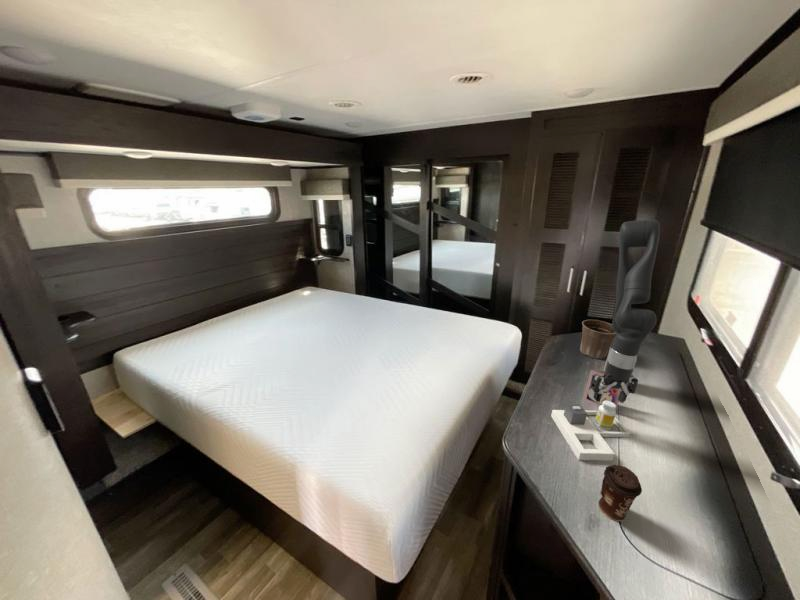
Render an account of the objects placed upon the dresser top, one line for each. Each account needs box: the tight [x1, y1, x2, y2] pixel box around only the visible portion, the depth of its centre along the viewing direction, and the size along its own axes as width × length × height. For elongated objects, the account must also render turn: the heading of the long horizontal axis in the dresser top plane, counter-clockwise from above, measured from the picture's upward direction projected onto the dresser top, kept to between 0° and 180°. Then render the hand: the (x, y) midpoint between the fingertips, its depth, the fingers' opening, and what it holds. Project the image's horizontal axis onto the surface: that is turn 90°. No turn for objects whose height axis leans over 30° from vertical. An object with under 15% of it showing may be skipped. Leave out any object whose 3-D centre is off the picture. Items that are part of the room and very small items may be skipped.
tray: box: [584, 409, 631, 438], centre depth 113 cm, size 12×12×2 cm
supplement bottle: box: [594, 401, 617, 430], centre depth 112 cm, size 5×5×10 cm
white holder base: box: [551, 403, 616, 462], centre depth 107 cm, size 11×20×9 cm, turn 179°
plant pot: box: [579, 319, 618, 360], centre depth 159 cm, size 16×16×16 cm
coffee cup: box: [598, 464, 643, 522], centre depth 82 cm, size 9×8×13 cm
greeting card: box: [582, 369, 622, 411], centre depth 122 cm, size 11×7×15 cm, turn 47°
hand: (608, 400), depth 110 cm, fingers open, 8 cm apart
